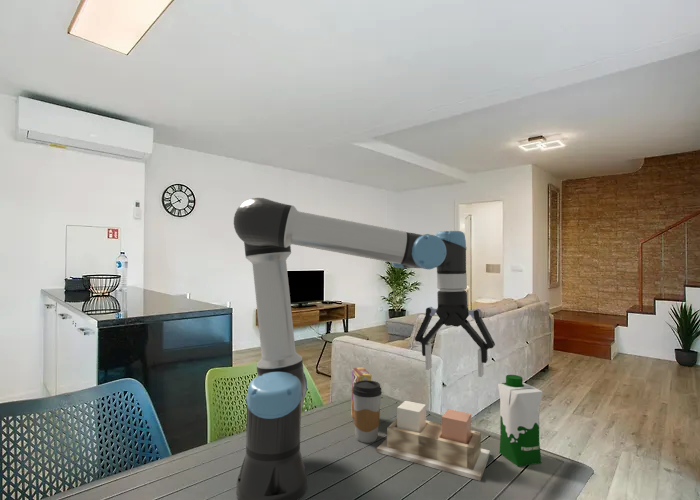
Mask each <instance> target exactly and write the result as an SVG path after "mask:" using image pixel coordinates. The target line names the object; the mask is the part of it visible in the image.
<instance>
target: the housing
mask: <svg viewBox="0 0 700 500" xmlns="http://www.w3.org/2000/svg"><path fill="white" fill-rule="evenodd" d="M481 437H482V432H481V431H476V430H472V429H471V440H470V442H469V444H464V443H460V442H455V441H451V440H447V439H443V438H442V422H441V423H440V422H437V421H433V420H432V421H431V420H427V419H426V427H425V428H424V429H423V430H422V432H421V433H417V432H413V431H409V430H405V429H401V428H397V418H396V419H395V420H393V422H392V423H391V424H389V426H387V428H386V439H385V440H383V442H381V444H380V445H379V446H377V447H376V453H378V454H382V455H385V456H389V457H393V458H397V459H400V460H404V461H408V462H412V463H415V464H418V465H421V466H426V467H428V468H433V469H435V470H436V469H437V470H439V471H443V472H446V473H450V474H453V475H457V476H461V477H464V478H469V479H472V480H476V481H479V482H481V481H482V478H483V475H484V472H485V470H486V466H487V464H488V461H489V459H490V455H491V450H489V449H485V448H482V445H481V444H482V439H481Z"/></svg>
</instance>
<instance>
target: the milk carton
mask: <svg viewBox="0 0 700 500" xmlns="http://www.w3.org/2000/svg"><path fill="white" fill-rule="evenodd" d="M497 387H498V394H499V400H500V402H499V403H500V407H499V409H500V412H499V413H500V419H499V421H500V426H499V427H500V436H499V437H500V438H499V454H501V455H502V456H503V457H504V458H506V459H507V460H508V461H510V462H511V463H512V464H514V465H515V466H516V467H524V466H531V465H537V464H538V465H539V464H542V455H541V445H540V406H541V401H542V397H543V394H544V391H543V390H540V389H538V388H537V387H536V386H532V385H531V384H528V383H525V382H523V376H521V375H516V374H508V375H505V382H502V383H498V384H497Z"/></svg>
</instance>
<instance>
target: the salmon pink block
mask: <svg viewBox="0 0 700 500" xmlns="http://www.w3.org/2000/svg"><path fill="white" fill-rule="evenodd" d="M441 424H442V438H443V439H447V440H451V441H455V442H460V443H464V444H469V442H470V440H471V430H472V413H469V412H466V411H465V412H464V411H459V410H456V409H455V410H454V409H449V408H448V409H447V410H446V411H445V412H444V414H443V415H442V416H441Z"/></svg>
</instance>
